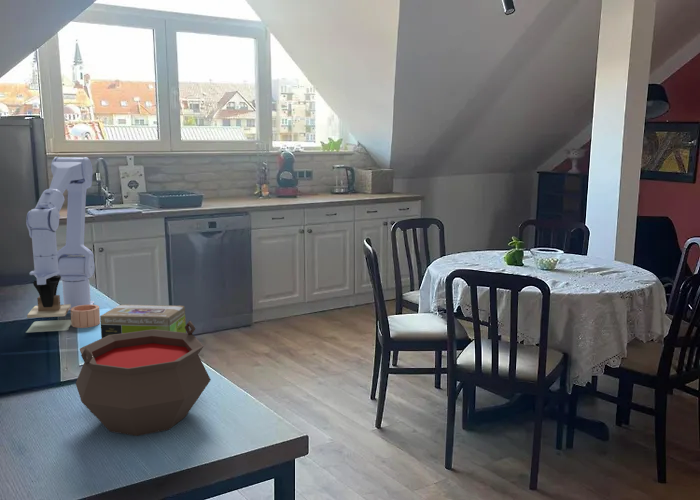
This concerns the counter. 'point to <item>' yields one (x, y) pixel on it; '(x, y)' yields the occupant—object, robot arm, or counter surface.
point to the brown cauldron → (142, 379)
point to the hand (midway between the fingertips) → (49, 305)
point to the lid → (49, 309)
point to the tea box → (142, 319)
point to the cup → (85, 316)
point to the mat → (49, 326)
